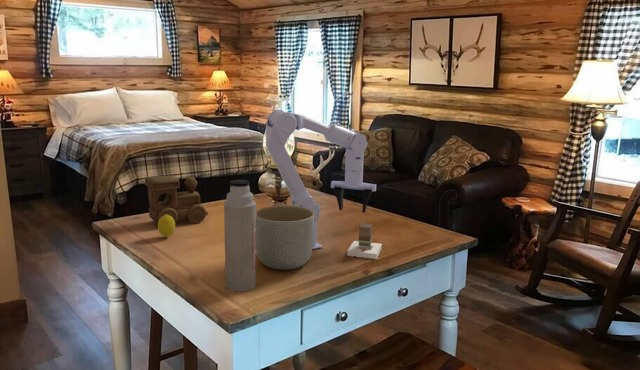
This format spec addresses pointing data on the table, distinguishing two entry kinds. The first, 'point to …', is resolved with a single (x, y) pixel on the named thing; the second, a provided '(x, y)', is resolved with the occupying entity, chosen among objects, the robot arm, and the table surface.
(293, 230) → the planter
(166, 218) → the lemon
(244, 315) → the table surface
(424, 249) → the table surface
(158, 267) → the table surface
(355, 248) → the sleeve block
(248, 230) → the thermos bottle
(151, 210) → the wooden toy train
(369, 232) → the post
